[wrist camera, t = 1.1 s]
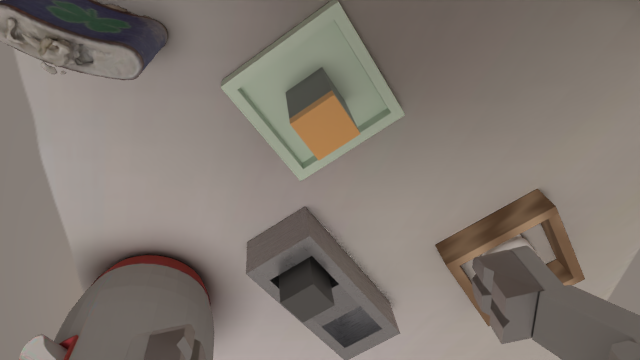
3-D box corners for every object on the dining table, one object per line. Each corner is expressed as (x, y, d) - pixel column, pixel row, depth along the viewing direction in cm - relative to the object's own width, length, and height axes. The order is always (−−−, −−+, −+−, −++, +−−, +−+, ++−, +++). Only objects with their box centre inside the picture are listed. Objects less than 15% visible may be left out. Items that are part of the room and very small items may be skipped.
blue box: (171, 23, 34) (138, 61, 25) (164, 57, 35) (129, 105, 26) (45, -22, 31) (-44, 1, 22) (43, 16, 32) (-43, 53, 23)
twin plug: (306, 237, 46) (313, 284, 40) (325, 258, 48) (334, 305, 42) (277, 255, 47) (280, 302, 41) (297, 274, 49) (302, 322, 43)
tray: (334, -3, 34) (338, 1, 33) (399, 107, 40) (405, 114, 39) (222, 80, 37) (220, 87, 35) (299, 172, 43) (300, 181, 41)
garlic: (539, 259, 55) (556, 279, 51) (492, 283, 56) (506, 305, 53) (519, 222, 51) (536, 242, 47) (470, 250, 52) (484, 271, 49)
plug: (321, 66, 36) (333, 94, 31) (345, 101, 38) (360, 134, 33) (285, 92, 37) (290, 124, 31) (310, 124, 39) (318, 160, 33)
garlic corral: (537, 188, 48) (555, 206, 45) (567, 259, 55) (585, 279, 52) (435, 245, 50) (446, 265, 48) (476, 305, 58) (488, 326, 55)
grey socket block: (305, 206, 45) (309, 235, 41) (389, 301, 55) (400, 333, 51) (247, 242, 47) (246, 274, 42) (339, 328, 57) (345, 361, 52)
